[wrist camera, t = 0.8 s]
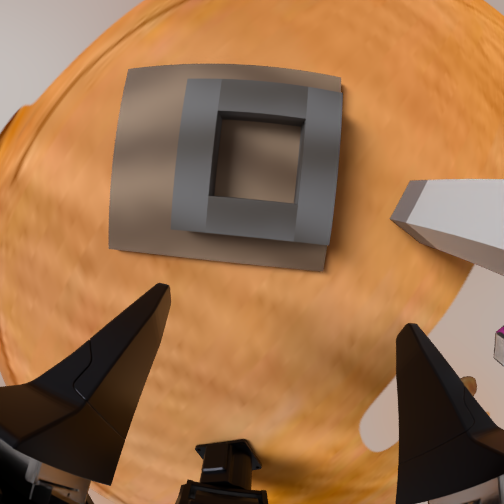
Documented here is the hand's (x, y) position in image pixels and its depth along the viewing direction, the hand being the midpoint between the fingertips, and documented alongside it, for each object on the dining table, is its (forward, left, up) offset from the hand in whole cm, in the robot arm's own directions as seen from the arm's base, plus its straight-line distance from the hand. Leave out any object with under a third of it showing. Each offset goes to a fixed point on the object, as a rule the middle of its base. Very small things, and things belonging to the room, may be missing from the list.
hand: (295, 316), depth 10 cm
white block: (-1, -13, -14) cm, 19 cm away
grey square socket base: (+8, +2, -13) cm, 16 cm away
